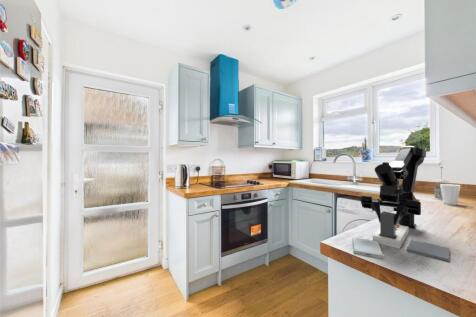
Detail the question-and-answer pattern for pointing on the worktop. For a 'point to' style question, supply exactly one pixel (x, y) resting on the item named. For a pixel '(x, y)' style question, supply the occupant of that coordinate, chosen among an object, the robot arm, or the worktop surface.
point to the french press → (439, 188)
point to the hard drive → (367, 248)
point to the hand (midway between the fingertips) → (387, 223)
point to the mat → (429, 250)
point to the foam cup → (450, 193)
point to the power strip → (400, 237)
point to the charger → (387, 225)
